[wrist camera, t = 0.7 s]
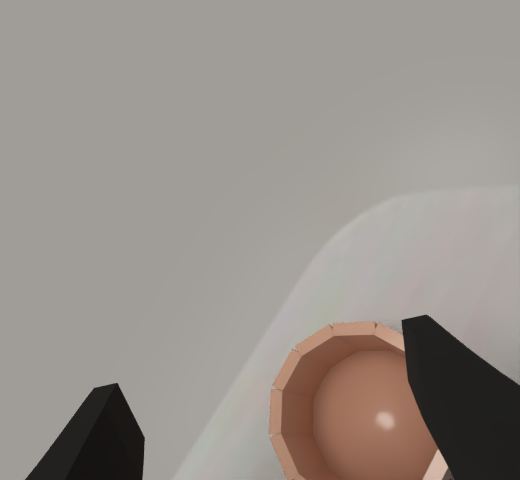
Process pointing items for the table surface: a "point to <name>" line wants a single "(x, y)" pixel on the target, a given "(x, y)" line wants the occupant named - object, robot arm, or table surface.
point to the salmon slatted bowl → (351, 410)
